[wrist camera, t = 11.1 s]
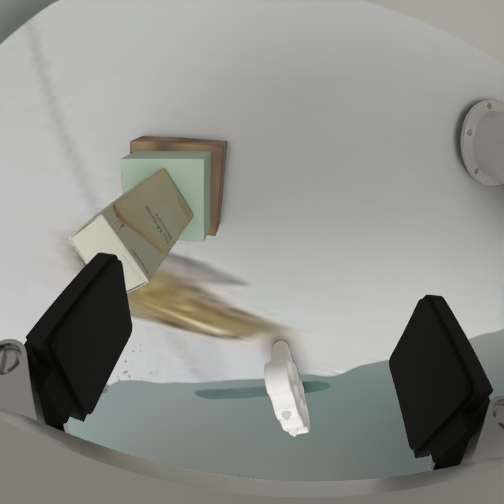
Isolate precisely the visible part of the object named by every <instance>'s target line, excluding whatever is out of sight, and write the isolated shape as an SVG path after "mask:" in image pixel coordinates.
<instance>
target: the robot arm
mask: <svg viewBox="0 0 504 504" xmlns="http://www.w3.org/2000/svg"><path fill="white" fill-rule="evenodd" d="M460 141H461V152H462V158H463V161H464V164H465V166H466V168H467V170H468V172H469V173H470V174H471V176H472V177H473V178H474V179H476V180H477V181H478V182H480V183H482V184H484V185H486V186H493V187H494V186H499V185H501V184H504V103H502V102H499V101H496V100H483V101H480V102H478V103H477V104H475V105H474V106H473V107H472V108H471V109H470V111H469V112H468V114H467V115H466V118H465V120H464V123H463V126H462V131H461V140H460ZM131 333H132V321H131V316H130V310H129V304H128V298H127V292H126V285H125V278H124V271H123V264H122V261H121V260H118V257H117V256H116V255H115V254H108V253H102V252H99V253H97V254H96V255H95V256H94V257H93V258H92V259H91V261H90V262H89V263H88V264H87V265H86V266H85V267H84V268H83V269H82V270H81V271H80V273H79V274H78V275H77V276H76V277H75V278H74V279H73V280H72V282H71V283H70V284H69V285H68V286H67V287H66V288H65V290H64V291H63V292H62V293H61V294H60V295H59V297H58V298H57V299H56V300H55V301H54V302H53V304H52V305H51V306H50V307H49V308H48V310H47V311H46V312H45V313H44V315H43V316H42V317H41V318H40V320H39V321H38V322H37V323H36V325H35V326H34V327H33V328H32V330H31V331H30V332H29V333H28V335H27V336H26V339H27V341H26V343H25V344H24V345H23V344H22V343H21V342H19V341H17V340H14V339H6V340H2V341H0V504H504V396H496V397H494V398H493V399H492V400H491V401H490V399H489V397H488V396H489V395H490V394H491V393H492V392H493V389H492V387H491V384H490V382H489V380H488V378H487V376H486V374H485V372H484V370H483V368H482V366H481V364H480V362H479V360H478V358H477V356H476V354H475V352H474V350H473V348H472V346H471V344H470V343H469V341H468V339H467V337H466V335H465V333H464V332H463V330H462V328H461V326H460V325H459V323H458V321H457V319H456V318H455V316H454V314H453V312H452V311H451V309H450V307H449V306H448V304H447V302H446V301H445V299H444V298H443V297H442V296H435V295H426V296H424V298H423V299H420V300H419V302H418V303H417V306H416V308H415V310H414V312H413V314H412V316H411V318H410V320H409V322H408V324H407V326H406V328H405V330H404V332H403V334H402V336H401V338H400V340H399V342H398V344H397V346H396V348H395V349H394V351H393V353H392V355H391V357H390V360H389V367H390V371H391V374H392V378H393V381H394V385H395V388H396V392H397V396H398V400H399V404H400V408H401V412H402V416H403V420H404V425H405V429H406V433H407V438H408V442H409V446H410V448H411V449H412V450H414V454H415V458H419V457H425V456H429V455H430V454H431V456H432V461H431V463H430V465H429V467H428V469H427V471H426V472H422V473H416V474H410V475H403V476H397V477H388V478H379V479H369V480H357V481H356V480H355V481H334V482H333V481H332V482H297V481H275V480H261V479H249V478H241V477H233V476H225V475H218V474H212V473H206V472H200V471H194V470H190V469H184V468H179V467H175V466H170V465H166V464H162V463H158V462H154V461H150V460H146V459H142V458H139V457H135V456H132V455H129V454H125V453H122V452H119V451H116V450H113V449H110V448H107V447H103V446H101V445H98V444H95V443H92V442H89V441H86V440H84V439H81V438H78V437H76V436H73V435H71V434H70V433H69V430H68V426H67V421H68V419H69V417H73V418H75V419H78V420H80V421H83V422H84V420H85V418H86V415H87V414H91V413H92V412H93V410H94V408H95V406H96V404H97V402H98V400H99V398H100V396H101V394H102V391H103V389H104V387H105V385H106V383H107V381H108V379H109V377H110V375H111V373H112V371H113V369H114V367H115V365H116V363H117V361H118V359H119V357H120V355H121V353H122V351H123V349H124V347H125V345H126V343H127V341H128V339H129V338H130V335H131Z"/></svg>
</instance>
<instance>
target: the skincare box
mask: <svg viewBox="0 0 504 504" xmlns="http://www.w3.org/2000/svg"><path fill="white" fill-rule="evenodd" d="M192 218H193V215H192V213H191V212H190V210H189V208H188V207H187V205H186V203H185V202H184V200H183V198H182V197H181V195H180V194H179V192H178V190H177V189H176V187H175V185H174V184H173V182H172V181H171V179H170V177H169V176H168V174H167V173H166V171H165V170H164V169H163V168H162V169H160V170H159V171H157V172H155V173H154V174H152V175H150V176H149V177H147V178H146V179H144V180H143V181H141V182H140V183H138V184H137V185H135V186H134V187H132V188H131V189H130V190H128V191H127V192H126V193H124V194H123V195H122V196H120V197H119V198H118V199H116V200H115V201H114V202H112V203H111V204H110V205H108V206H107V207H106V208H105V209H103V210H102V211H101V212H99V213H98V214H97V215H96V216H94V217H93V218H92V219H91V220H89V221H88V222H87V223H86V224H84V225H83V226H82V227H81V228H79V229H78V230H77V231H76V232H75V233H73V234H72V235H71V236H70V237H69V240H70V242H71V243H72V244H73V246H74V247H75V249H76V250H77V252H78V253H79V255H80V256H81V257H82V259H83V260H84V261H85V263H86V264H88V263H89V262H90V261H91V259H92V258H93V257H94V256H95V255H96V254H97V253H99V252H102V253H108V254H115V255H116V256H117V257H118V260H121V261H122V264H123V271H124V278H125V285H126V292H127V293H129V292H131V291H133V290H135V289H137V288H139V287H141V286H143V285H145V284H147V283H148V282H149V281H150V279H151V278H152V276H153V275H154V273H155V272H156V270H157V269H158V268H159V266H160V264H161V263H162V262H163V260H164V259H165V257H166V256H167V254H168V253H169V251H170V250H171V248H172V247H173V245H174V244H175V242H176V241H177V239H178V238H179V236H180V235H181V234H182V232H183V231H184V229H185V228H186V226H187V225H188V223H189V222H190V221H191V219H192Z"/></svg>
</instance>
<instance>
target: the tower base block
mask: <svg viewBox="0 0 504 504" xmlns="http://www.w3.org/2000/svg"><path fill="white" fill-rule="evenodd" d="M226 148H227V141H216V140H205V139H191V138H175V137H154V136H142V137H140V138H137V139H135V140H132V141H130V154H131V153H133V152H135V151H212V155H211V225H210V228H209V230H208V233H207V235H211V236H216V233H217V230H218V227H219V224H220V214H221V202H222V191H223V179H224V169H225V158H226Z"/></svg>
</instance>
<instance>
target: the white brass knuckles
mask: <svg viewBox="0 0 504 504" xmlns="http://www.w3.org/2000/svg"><path fill="white" fill-rule="evenodd" d="M264 376H265V384H266V389H267V393H268V394H269V396H270V398H271V400H272V403H273V407H274V412H275V414H276V417H277V419H278V420H279V421H280V422H281V425H282V428H283V429H284V430H285V431H289V434H290V435H293V436H294V437H296V434H302V433H307V432H309V430H310V423H309V415H308V410H307V406H306V401H305V396H304V387H303V384H302V381H301V380H300V379H299V376H298V371H297V368H296V365H295V364H294V362H293V359H292V356H291V352H290V348H289V346H288V345H287V344H286V343H285V342H284V341H278V342H276V343H275V344H274V346H273V348H272V353H271V362H269V363H266V364H265V368H264Z"/></svg>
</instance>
